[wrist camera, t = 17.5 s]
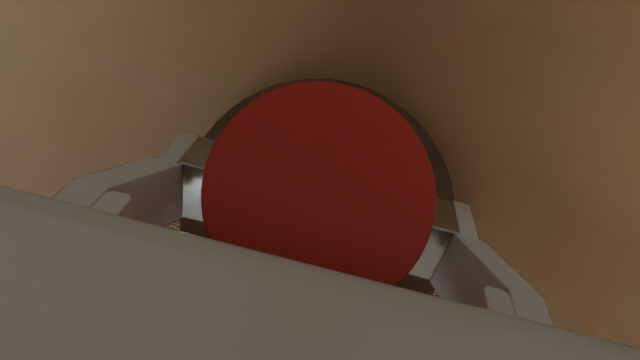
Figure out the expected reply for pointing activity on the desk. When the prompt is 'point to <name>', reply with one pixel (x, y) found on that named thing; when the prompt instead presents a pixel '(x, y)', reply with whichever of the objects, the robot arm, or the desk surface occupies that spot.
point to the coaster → (434, 156)
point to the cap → (322, 182)
